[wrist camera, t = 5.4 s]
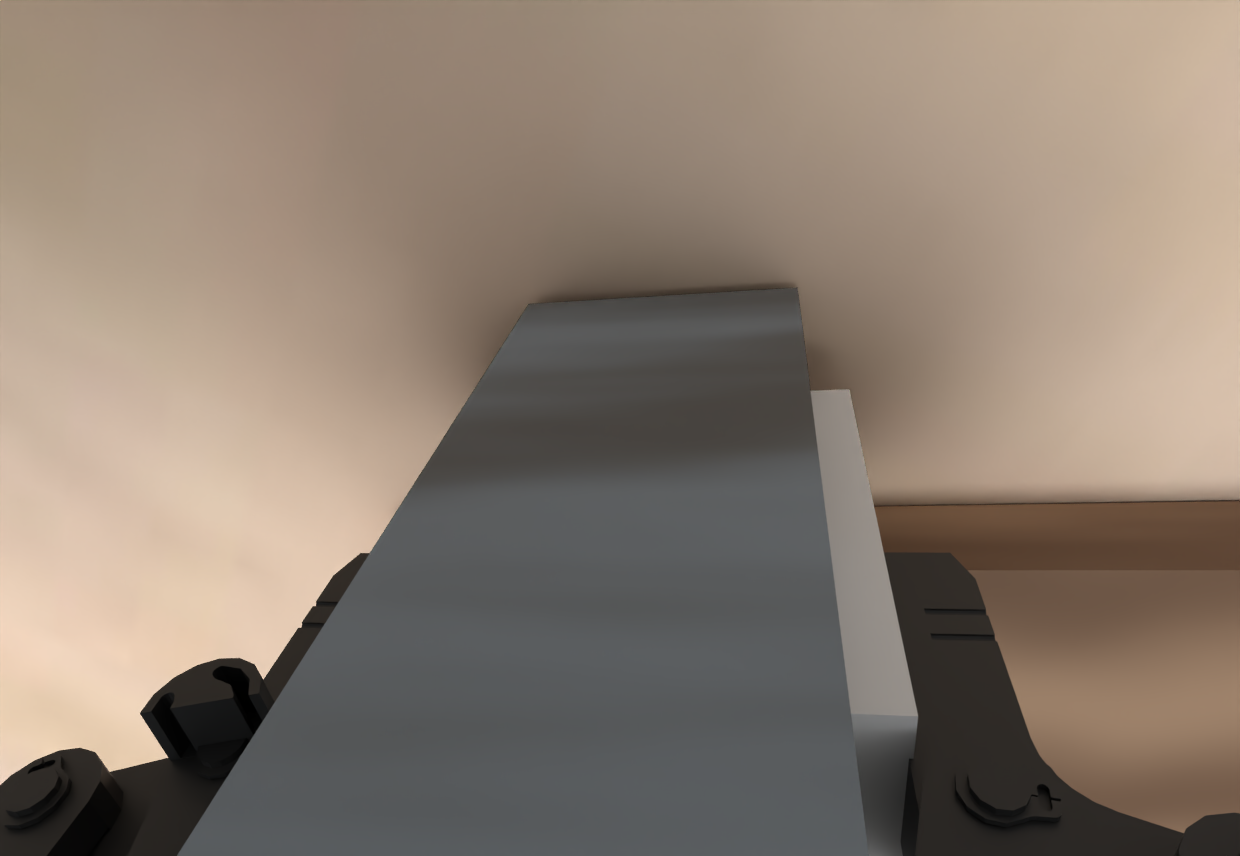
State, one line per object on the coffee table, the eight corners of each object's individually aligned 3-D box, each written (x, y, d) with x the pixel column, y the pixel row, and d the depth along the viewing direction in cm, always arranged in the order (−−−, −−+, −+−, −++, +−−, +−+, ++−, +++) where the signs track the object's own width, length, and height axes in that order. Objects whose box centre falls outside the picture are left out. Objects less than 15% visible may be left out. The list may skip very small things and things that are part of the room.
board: (397, 513, 19) (359, 573, 17) (1502, 496, 14) (1606, 574, 13) (501, 815, 25) (481, 883, 23) (1299, 866, 20) (1351, 953, 19)
